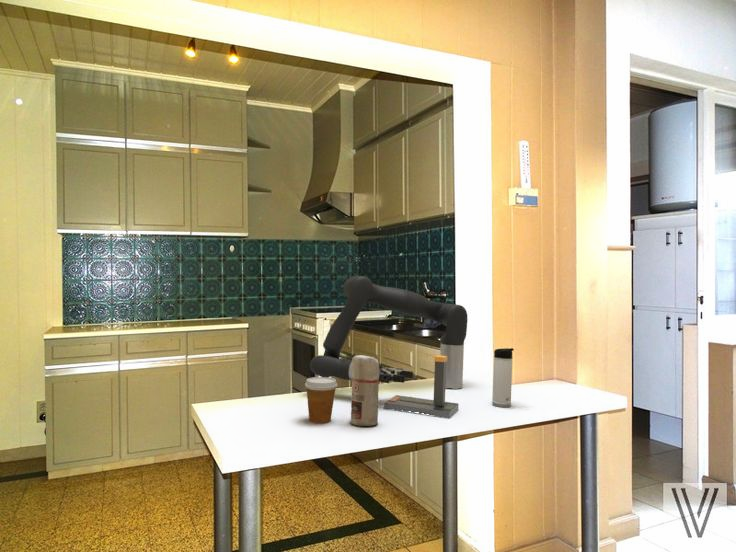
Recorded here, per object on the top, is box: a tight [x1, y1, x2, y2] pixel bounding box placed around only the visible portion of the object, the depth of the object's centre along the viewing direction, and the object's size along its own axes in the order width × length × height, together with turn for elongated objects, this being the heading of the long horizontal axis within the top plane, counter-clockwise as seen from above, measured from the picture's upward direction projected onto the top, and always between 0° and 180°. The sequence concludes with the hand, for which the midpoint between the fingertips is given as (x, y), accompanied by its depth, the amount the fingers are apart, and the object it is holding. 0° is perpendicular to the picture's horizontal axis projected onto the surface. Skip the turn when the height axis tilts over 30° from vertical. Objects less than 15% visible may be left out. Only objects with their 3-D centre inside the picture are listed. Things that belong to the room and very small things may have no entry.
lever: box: [433, 354, 447, 406], centre depth 160 cm, size 3×3×16 cm
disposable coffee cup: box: [304, 376, 338, 424], centre depth 146 cm, size 10×10×12 cm
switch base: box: [383, 394, 460, 419], centre depth 163 cm, size 22×12×2 cm, turn 66°
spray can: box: [349, 354, 380, 427], centre depth 144 cm, size 8×8×20 cm
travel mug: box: [491, 347, 514, 409], centre depth 171 cm, size 6×7×20 cm
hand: (409, 377), depth 164 cm, fingers open, 8 cm apart
